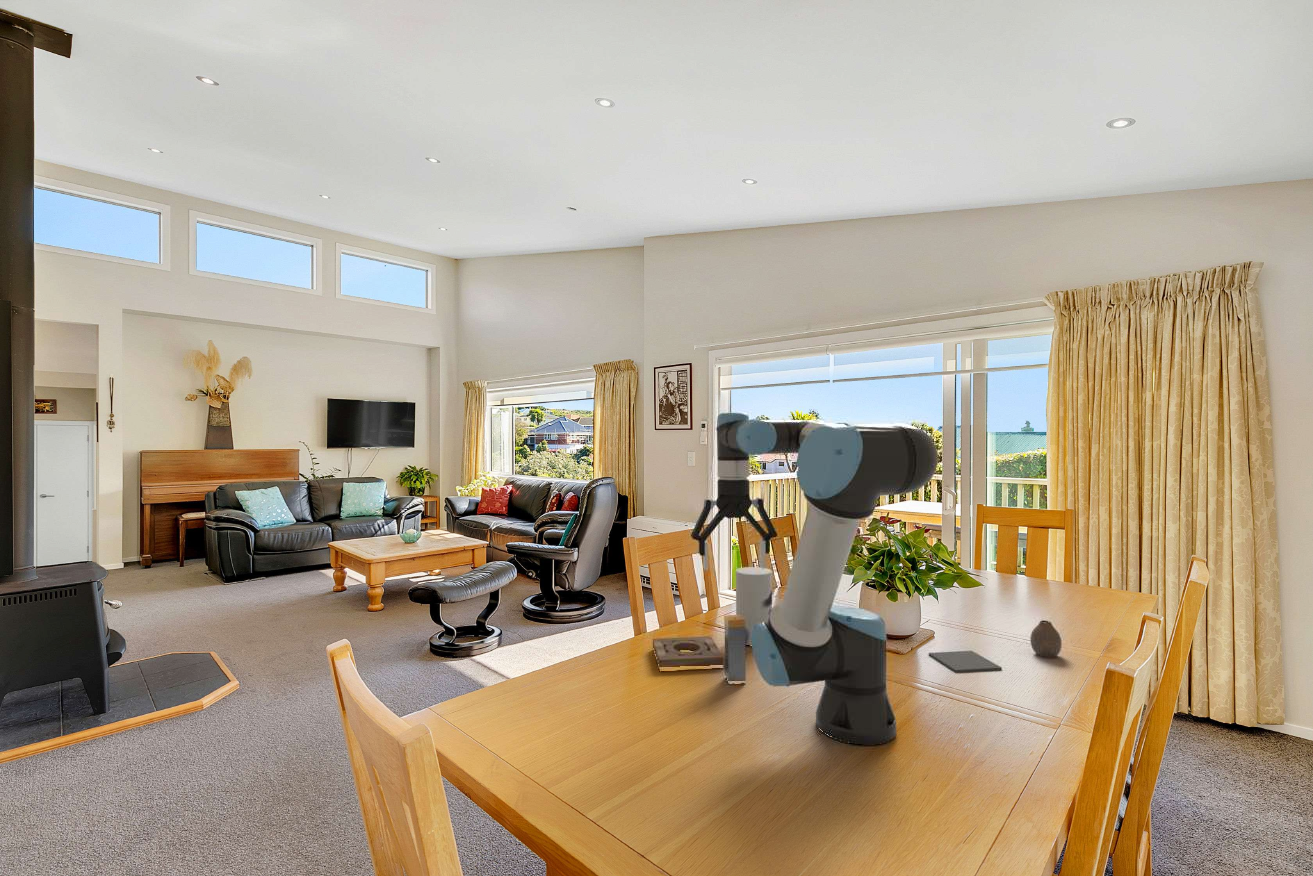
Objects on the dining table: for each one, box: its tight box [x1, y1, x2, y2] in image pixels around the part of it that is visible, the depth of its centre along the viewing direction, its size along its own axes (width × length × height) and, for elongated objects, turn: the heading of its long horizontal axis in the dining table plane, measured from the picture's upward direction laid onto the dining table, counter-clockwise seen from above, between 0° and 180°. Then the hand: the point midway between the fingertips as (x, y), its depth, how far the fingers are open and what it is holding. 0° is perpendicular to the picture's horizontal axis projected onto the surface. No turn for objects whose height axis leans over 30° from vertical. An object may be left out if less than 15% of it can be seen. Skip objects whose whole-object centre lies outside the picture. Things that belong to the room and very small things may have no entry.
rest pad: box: [928, 650, 1003, 673], centre depth 158 cm, size 12×12×1 cm
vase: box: [1030, 619, 1063, 659], centre depth 163 cm, size 7×7×9 cm
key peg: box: [723, 614, 747, 681], centre depth 147 cm, size 4×4×15 cm
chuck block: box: [652, 635, 725, 667], centre depth 162 cm, size 16×16×3 cm
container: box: [735, 566, 773, 645], centre depth 176 cm, size 10×10×20 cm
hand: (734, 568), depth 148 cm, fingers open, 13 cm apart
